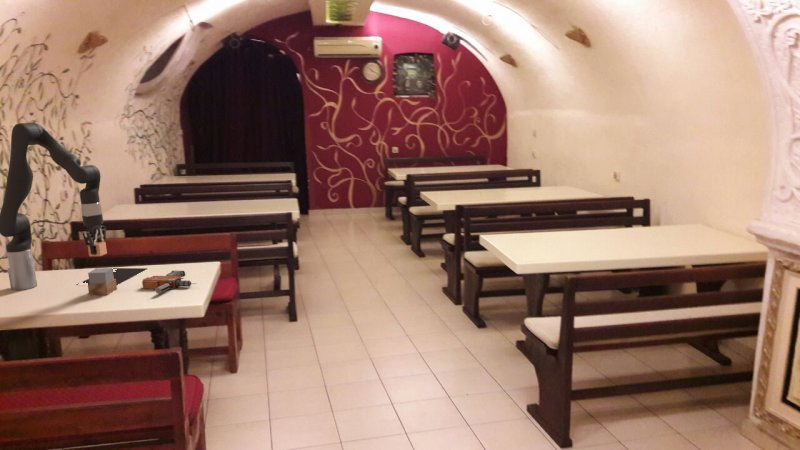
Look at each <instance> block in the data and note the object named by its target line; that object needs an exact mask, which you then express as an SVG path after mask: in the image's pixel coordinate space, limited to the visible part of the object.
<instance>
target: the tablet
mask: <svg viewBox="0 0 800 450" xmlns="http://www.w3.org/2000/svg"><path fill="white" fill-rule="evenodd" d="M112 268H113V269H117V270H115V271H116V272H113V276H114V279H116V284H117V286H118V284H119V285H121V284H122V282H123V283H124V282H126V281H128V280H131V279H132V278H134V277H136V276H138V275H139V273H140V274H141V272H142V273H144V272H145V270H146V271H147V270H148V268H146V267H143V268H141V267H131V268H129V267H126V268H125V267H124V268H123V267H122V268H121V267H120V268H119V267H112ZM143 271H144V272H143ZM137 274H138V275H137ZM82 282H83V283H85V282H86V283H88V284H90V282H89V278H87V279H85V280H83V281H82ZM78 284H79V283H77V284H76V285H78Z"/></svg>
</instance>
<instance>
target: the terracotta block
mask: <svg viewBox="0 0 800 450" xmlns="http://www.w3.org/2000/svg"><path fill="white" fill-rule="evenodd" d="M95 246H96V250H97V254H96V255H92V254H91V251H90V246H87V250H88V251H87V252H88V256H89V257H103V256H104V255H107V254H108V251H107V243H106V241H104V242H97V241H96V245H95Z"/></svg>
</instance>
